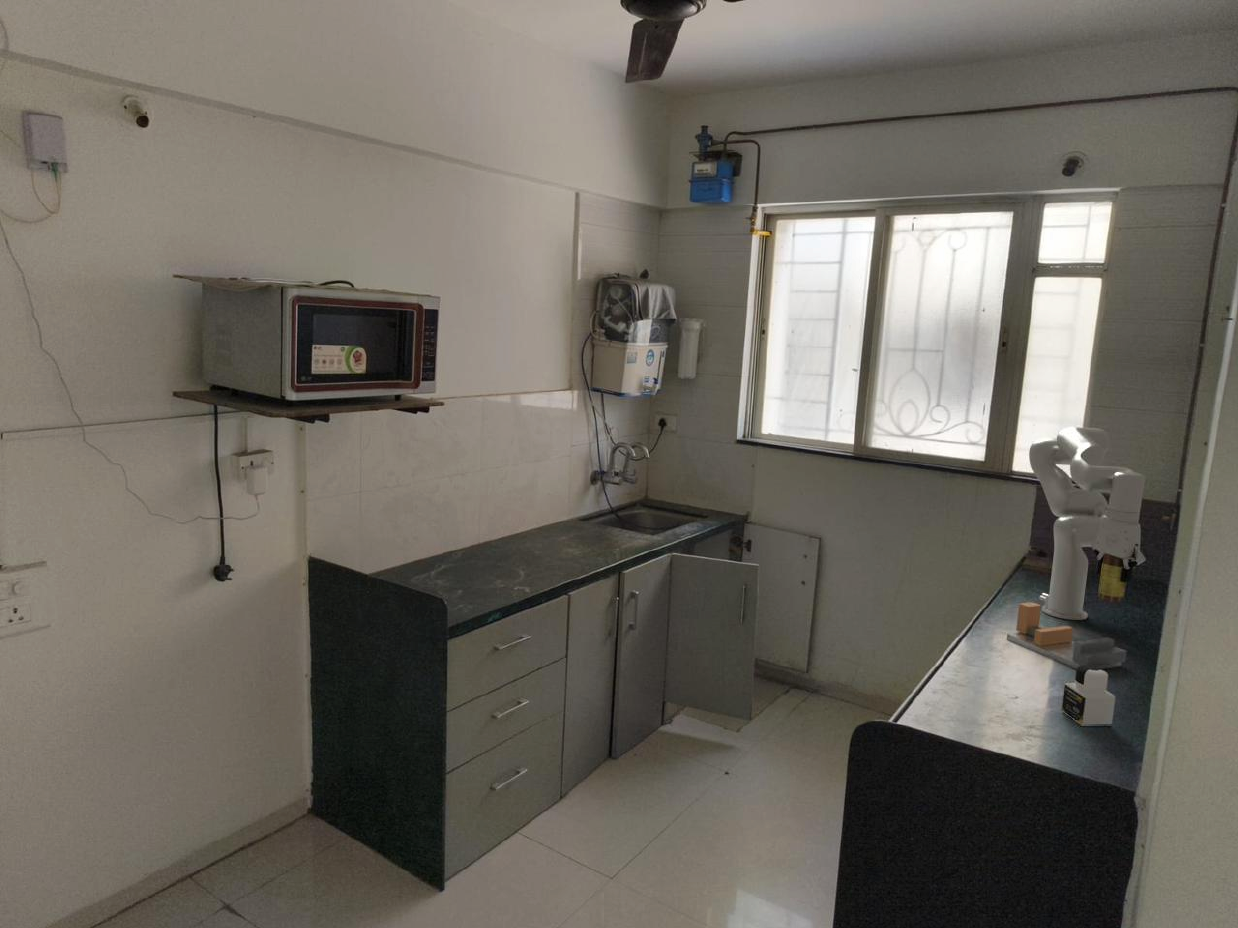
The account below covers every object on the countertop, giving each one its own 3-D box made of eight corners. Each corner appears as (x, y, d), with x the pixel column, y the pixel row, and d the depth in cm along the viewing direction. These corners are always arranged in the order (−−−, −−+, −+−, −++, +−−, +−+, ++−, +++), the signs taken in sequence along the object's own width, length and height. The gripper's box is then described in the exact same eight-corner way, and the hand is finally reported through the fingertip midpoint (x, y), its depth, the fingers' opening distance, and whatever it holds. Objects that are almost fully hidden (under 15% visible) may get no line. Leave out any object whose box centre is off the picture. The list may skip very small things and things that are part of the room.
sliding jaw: (1007, 631, 226) (1010, 604, 225) (1038, 628, 230) (1041, 601, 229) (1039, 645, 216) (1043, 617, 215) (1071, 641, 220) (1075, 613, 219)
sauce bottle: (1126, 604, 221) (1138, 536, 217) (1102, 602, 222) (1113, 534, 218) (1117, 596, 227) (1128, 530, 224) (1093, 594, 228) (1104, 528, 225)
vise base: (1006, 638, 225) (1009, 616, 224) (1042, 634, 230) (1045, 612, 229) (1086, 673, 202) (1089, 649, 201) (1124, 667, 207) (1127, 643, 206)
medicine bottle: (1060, 712, 179) (1066, 661, 177) (1090, 712, 179) (1096, 661, 178) (1081, 727, 172) (1088, 674, 170) (1112, 727, 172) (1119, 674, 171)
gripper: (1085, 509, 227) (1076, 569, 230) (1143, 524, 211) (1133, 588, 214) (1103, 507, 230) (1094, 567, 233) (1162, 523, 214) (1152, 586, 217)
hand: (1113, 576), depth 224 cm, fingers closed on sauce bottle, 6 cm apart
